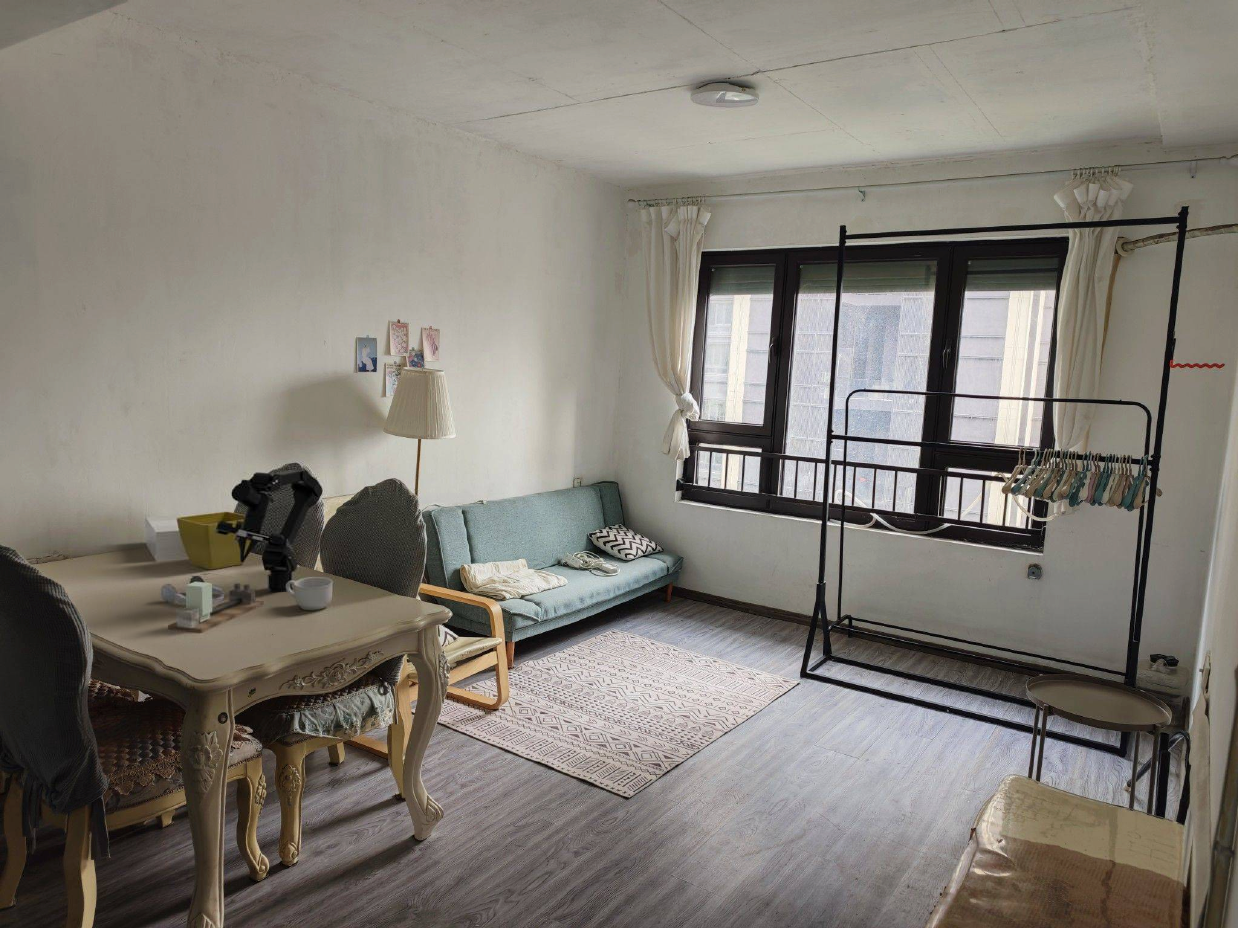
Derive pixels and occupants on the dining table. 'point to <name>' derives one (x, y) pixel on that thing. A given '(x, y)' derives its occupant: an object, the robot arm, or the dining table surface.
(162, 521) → the white rectangular box
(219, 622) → the cord board
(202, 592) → the pale green box
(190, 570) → the dining table surface
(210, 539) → the flower pot
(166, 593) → the headphones
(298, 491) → the robot arm
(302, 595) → the teacup
